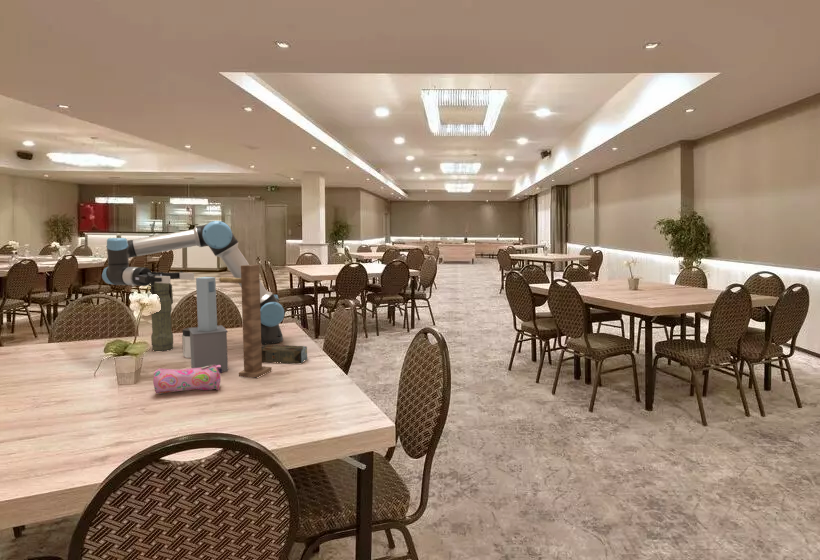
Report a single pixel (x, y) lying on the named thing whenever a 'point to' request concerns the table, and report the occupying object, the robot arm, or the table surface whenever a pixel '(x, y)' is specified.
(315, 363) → the table surface
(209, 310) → the grey tall block
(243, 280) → the walnut stand
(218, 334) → the lidded box
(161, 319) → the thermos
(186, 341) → the jar
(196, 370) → the pencil case
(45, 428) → the table surface
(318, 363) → the table surface
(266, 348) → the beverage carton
